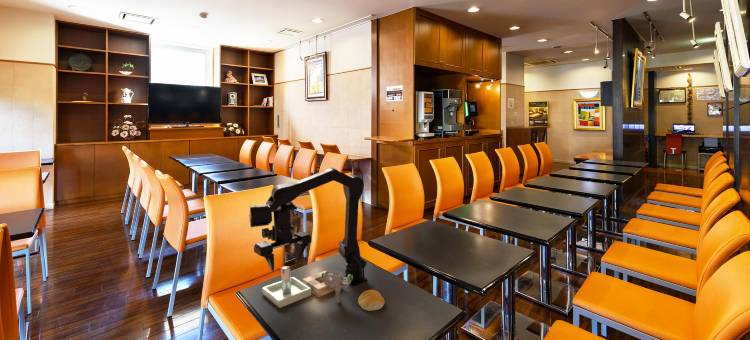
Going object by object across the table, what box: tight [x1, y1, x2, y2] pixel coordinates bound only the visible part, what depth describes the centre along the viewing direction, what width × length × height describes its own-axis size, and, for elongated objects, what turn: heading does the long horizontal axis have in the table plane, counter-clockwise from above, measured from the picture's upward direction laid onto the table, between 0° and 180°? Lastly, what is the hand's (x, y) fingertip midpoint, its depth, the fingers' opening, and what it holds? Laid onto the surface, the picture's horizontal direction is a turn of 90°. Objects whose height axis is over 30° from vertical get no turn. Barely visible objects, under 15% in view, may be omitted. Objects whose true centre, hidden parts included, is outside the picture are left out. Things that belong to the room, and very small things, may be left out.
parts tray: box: [262, 276, 312, 309], centre depth 123 cm, size 12×12×2 cm
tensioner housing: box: [302, 270, 343, 298], centre depth 128 cm, size 10×10×3 cm
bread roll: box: [357, 289, 385, 312], centre depth 117 cm, size 8×9×4 cm
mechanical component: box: [322, 270, 353, 304], centre depth 117 cm, size 3×10×10 cm, turn 78°
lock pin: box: [280, 265, 291, 295], centre depth 122 cm, size 3×3×9 cm
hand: (285, 267), depth 121 cm, fingers open, 9 cm apart
